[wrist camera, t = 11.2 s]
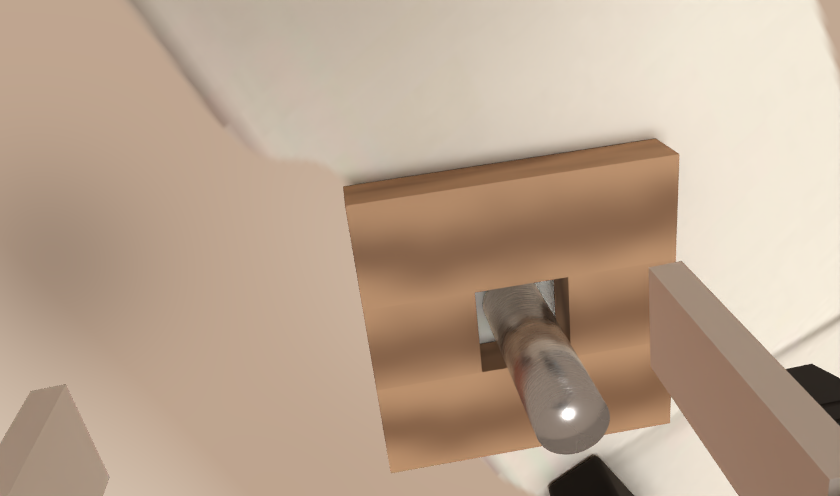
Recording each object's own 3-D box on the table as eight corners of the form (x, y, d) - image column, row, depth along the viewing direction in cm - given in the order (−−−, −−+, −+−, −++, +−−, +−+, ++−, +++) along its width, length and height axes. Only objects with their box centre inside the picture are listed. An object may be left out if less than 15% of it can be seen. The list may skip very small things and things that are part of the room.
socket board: (343, 186, 41) (345, 206, 38) (656, 138, 42) (679, 154, 39) (386, 441, 48) (391, 473, 46) (650, 395, 50) (669, 422, 47)
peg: (480, 280, 44) (533, 398, 34) (538, 271, 45) (609, 385, 34) (484, 331, 46) (537, 460, 35) (541, 321, 46) (610, 447, 35)
